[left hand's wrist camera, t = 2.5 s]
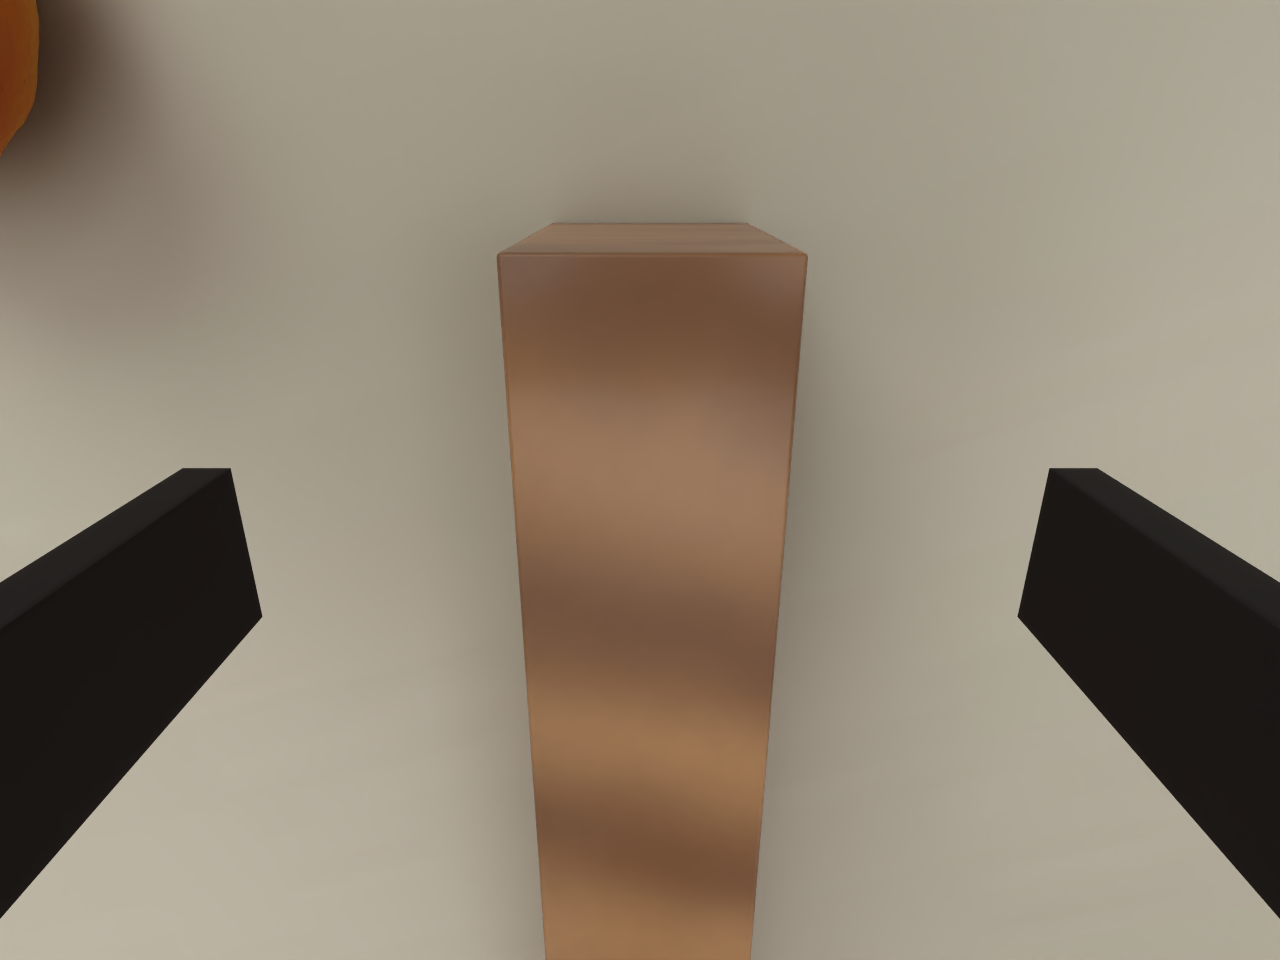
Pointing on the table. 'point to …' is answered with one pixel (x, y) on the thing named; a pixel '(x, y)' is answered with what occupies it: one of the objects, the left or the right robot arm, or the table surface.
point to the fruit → (17, 64)
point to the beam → (650, 568)
